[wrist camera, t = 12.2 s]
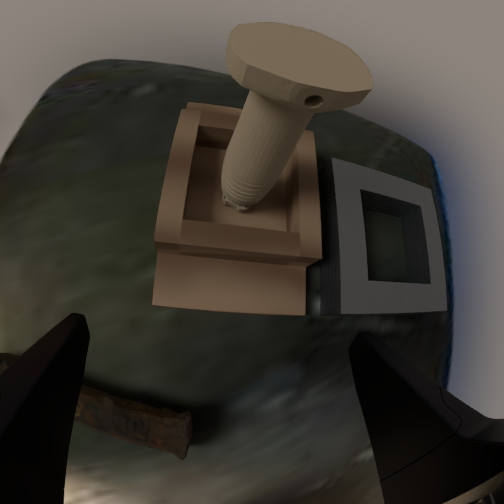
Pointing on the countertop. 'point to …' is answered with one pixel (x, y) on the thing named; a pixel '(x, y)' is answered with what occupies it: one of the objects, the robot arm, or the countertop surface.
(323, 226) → the socket block
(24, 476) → the robot arm
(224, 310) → the tan piece
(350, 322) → the countertop surface
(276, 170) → the handle
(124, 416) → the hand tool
